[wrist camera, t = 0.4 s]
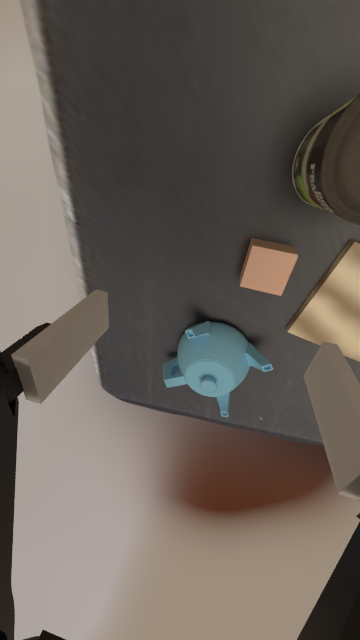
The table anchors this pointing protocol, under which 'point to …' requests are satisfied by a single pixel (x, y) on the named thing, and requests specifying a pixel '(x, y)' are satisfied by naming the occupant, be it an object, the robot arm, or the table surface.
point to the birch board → (334, 306)
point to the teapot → (213, 361)
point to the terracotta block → (267, 266)
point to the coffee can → (331, 163)
